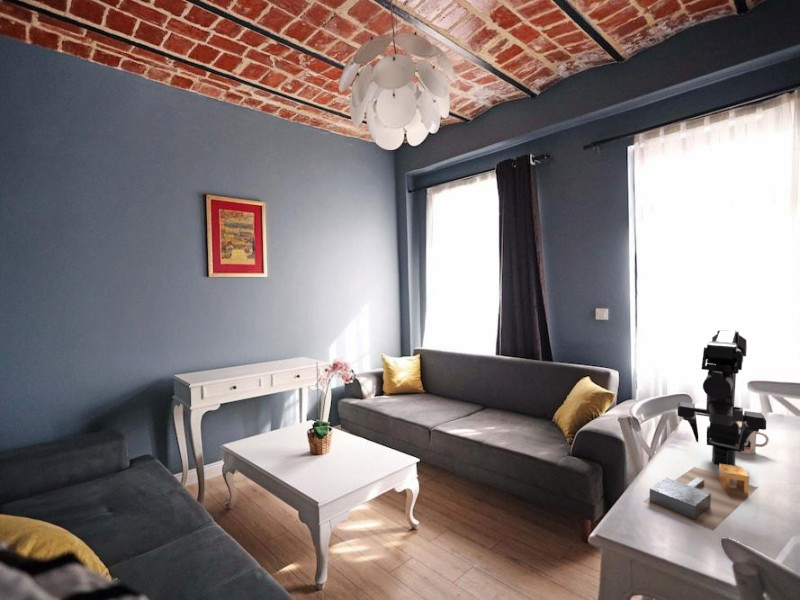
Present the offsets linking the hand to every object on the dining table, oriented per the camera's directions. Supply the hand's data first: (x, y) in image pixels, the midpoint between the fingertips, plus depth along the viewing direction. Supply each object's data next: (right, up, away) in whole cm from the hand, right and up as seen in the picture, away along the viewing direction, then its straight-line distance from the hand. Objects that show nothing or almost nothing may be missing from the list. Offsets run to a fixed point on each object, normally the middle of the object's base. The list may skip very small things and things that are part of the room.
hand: (718, 445), depth 112 cm
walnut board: (-6, -13, -3) cm, 15 cm away
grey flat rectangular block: (-11, -12, -4) cm, 17 cm away
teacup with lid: (+30, -12, +28) cm, 43 cm away
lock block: (+5, -12, +1) cm, 13 cm away
